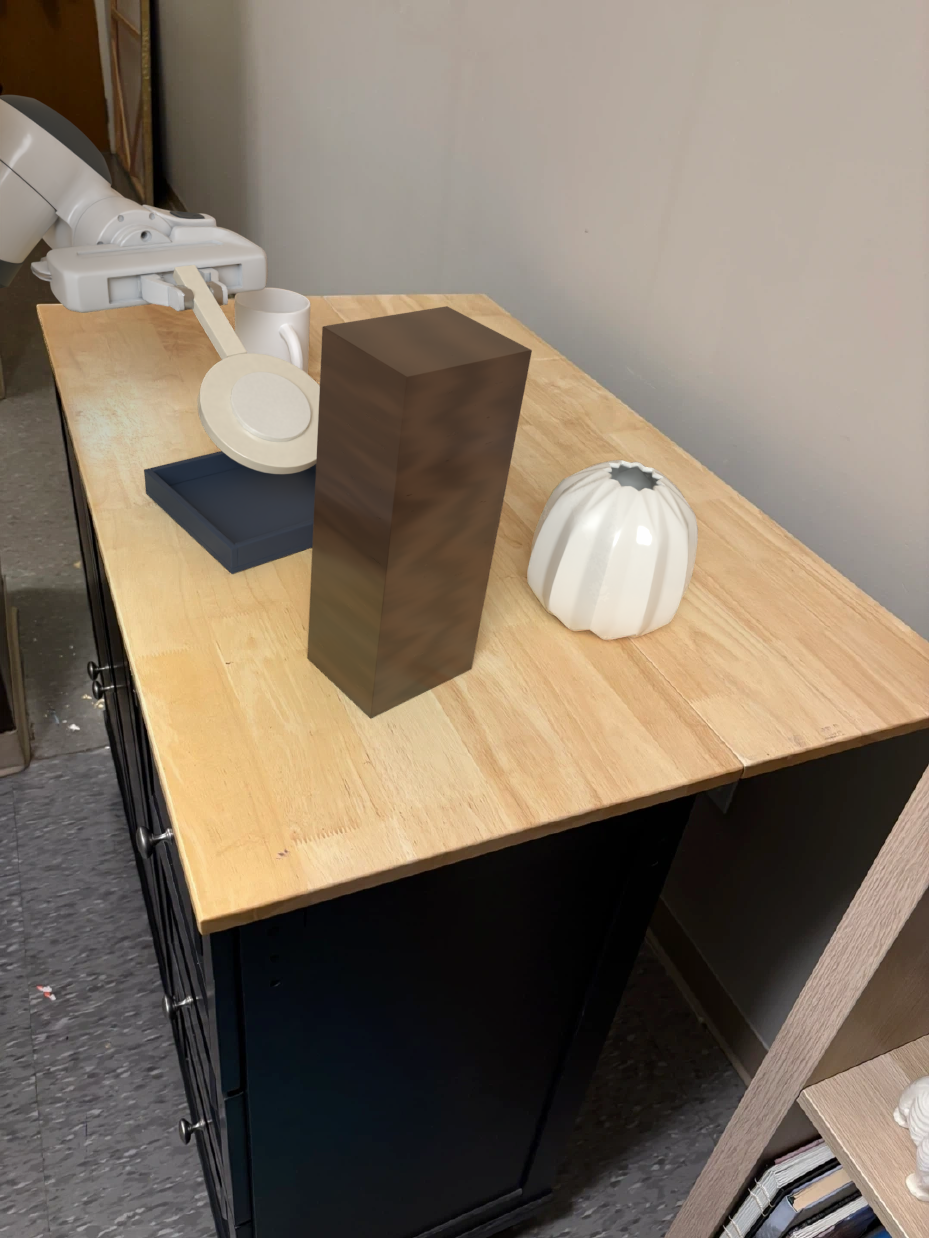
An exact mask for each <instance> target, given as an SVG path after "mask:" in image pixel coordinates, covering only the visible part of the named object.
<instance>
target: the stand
mask: <svg viewBox="0 0 929 1238" xmlns="http://www.w3.org/2000/svg"><path fill="white" fill-rule="evenodd" d="M321 328H322V329H321V350H320V351H321V352H320V370H319V371H320V373H319V386H320V392H319V413H318V435H317V457H316V479H315V500H314V522H313V544H312V548H311V567H310V589H309V608H308V609H309V612H308V631H307V632H308V636H307V655H306V658H307V660H308V661H309V662H310V663H311V664H312V665H313V666H315V667H316V668H317V669H318V671H320V672H321V673H322V674H323V675H324V676H325V677H326V678H327V679H328V680H329V681H330V682H331V683H333V685H335V686H336V687H337V689H339V690H340V691H341V692H342V693H343V694H344V695H345V696H346V697H347V698H348V699H349V700H350V701H351V702H353V703H354V705H355V706H356V707H358V708H359V710H361V711H362V713H364V714H365V715H366V716H367V717H368V718H369V719H374V718H376V717H377V716H379V715H381V714H384V713H385V712H388V711H389V710H392V709H394V708H395V707H397V706H400V705H402V704H403V703H406V702H407V701H410V700H412V699H414V698H416V697H418V696H420V695H422V694H424V693H426V692H428V691H430V690H432V689H434V688H436V687H438V686H440V685H442V684H444V683H446V682H449V681H450V680H452V679H454V678H457V677H459V676H460V675H463V674H464V673H466V672H469V671H471V670H472V668H473V663H474V659H475V653H476V648H477V642H478V638H479V631H480V627H481V621H482V615H483V610H484V605H485V600H486V594H487V589H488V584H489V579H490V574H491V568H492V563H493V558H494V552H495V548H496V542H497V537H498V531H499V527H500V522H501V516H502V510H503V505H504V500H505V494H506V489H507V484H508V479H509V475H510V469H511V463H512V459H513V454H514V453H513V452H514V447H515V442H516V438H517V431H518V426H519V420H520V417H521V411H522V405H523V401H524V394H525V389H526V384H527V378H528V374H529V368H530V362H531V358H532V352H533V350H532V349H531V348H529V347H527V346H526V345H523V344H521V343H519V342H517V341H516V340H513V339H512V338H510V337H507V336H505V335H504V334H502V333H500V332H498V331H496V330H494V329H493V328H490V327H488V326H486V325H485V324H483V323H480V322H479V321H477V320H474V319H472V317H469V316H467V315H465V314H463V313H461V312H459V311H457V310H455V309H454V308H451V307H450V306H448V305H446V306H440V307H433V308H428V309H427V308H426V309H421V310H415V311H409V312H402V313H396V314H390V315H384V316H378V317H372V318H365V319H357V320H353V321H346V322H340V323H335V324H328V325H322V327H321Z"/></svg>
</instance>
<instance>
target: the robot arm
mask: <svg viewBox="0 0 929 1238" xmlns="http://www.w3.org/2000/svg"><path fill="white" fill-rule="evenodd" d="M111 186H113V181H112V176H111V173H110V170H109V167H108V164H107V162H106V159H105V157H104V156H103V154H102V152H101V151H100V150H99V149H98V147H97V146H96V145H95V144H94V143H93V141H92V140H90V139H89V137H87V135H86V134H84V132H83V131H82V130H80V129H79V128H78V127H77V126H76V125H75V124H74V123H72V121H70V120H69V119H67V118H66V117H65V116H63V115H62V114H60V113H59V112H58V111H56V110H55V109H53V108H52V107H50V106H48V105H47V104H45V103H43V102H41V101H40V100H37V99H36V98H34V97H29V96H23V95H16V94H2V95H0V289H4V288H9V287H10V285H11V283H12V282H13V280H14V279H15V277H16V276H17V274H18V272H19V271H20V270H21V268H22V267H23V265H24V263H25V260H26V259H27V257H28V256H29V255H30V254H31V252H32V251H33V250H34V249H35V247H36V246H37V244H38V243H39V242H40V241H41V240H43V241H44V242H45V243H46V244H47V246H49V247H50V250H49V251H48V252H47V253H46V256H44V257H43V256H42V257H41V258H40V260H39V261H33V262H31V263H30V270H31V272H32V274H33V275H34V276H36V277H37V278H39V279H40V280H42V281H46V282H49V285H50V286H49V287H50V290H51V292H52V294H53V295H54V297H55V298H56V299H57V300H58V302H59V303H60V304H61V305H62V306H63V307H64V308H65V309H66V310H68V311H70V312H75V313H80V314H86V313H88V314H89V313H94V312H102V311H111V310H118V309H127V308H132V307H133V308H134V307H141V306H147V305H148V306H149V305H157V306H164V307H170V308H171V309H173V310H175V311H176V312H184V311H190V310H191V311H192V309H193V308H194V303H193V299H194V295H193V292H192V290H191V289H189V288H187V287H186V286H184V285H177V283H176V282H175V280H174V278H173V273H174V269H175V267H181V266H189V265H195V266H196V268H197V269H198V271H199V273H200V274H201V276H202V278H203V279H204V281H205V283H206V284H207V286H208V288H209V289H210V291H211V293H212V294H213V296H214V298H215V299H216V301H217V303H218V304H219V306H220V307H221V306H227V305H228V303H229V295H234V294H235V295H236V294H237V293H243V292H250V291H260V290H263V289H264V288H265V287H267V284H268V279H269V278H268V277H269V276H268V275H269V264H268V263H269V262H268V257H267V256H268V255H267V253H266V251H265V250H264V248H262V247H261V246H259V245H258V244H256V243H255V242H254V241H252V240H250V239H248V238H246V237H244V236H243V235H241V234H239V233H237V232H236V231H233V230H231V229H228V228H225V227H221V226H217V221H216V218H215V217H214V216H211V215H209V214H207V213H201V212H200V213H198V212H190V211H179V210H168V209H162V208H159V207H155V206H152V205H149V204H142V205H141V204H140V203H138V202H136V201H134V200H132V199H130V198H128V197H125V196H123V195H122V194H121V193H120V192H118V191H117V190H115V188H112V187H111Z"/></svg>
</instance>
